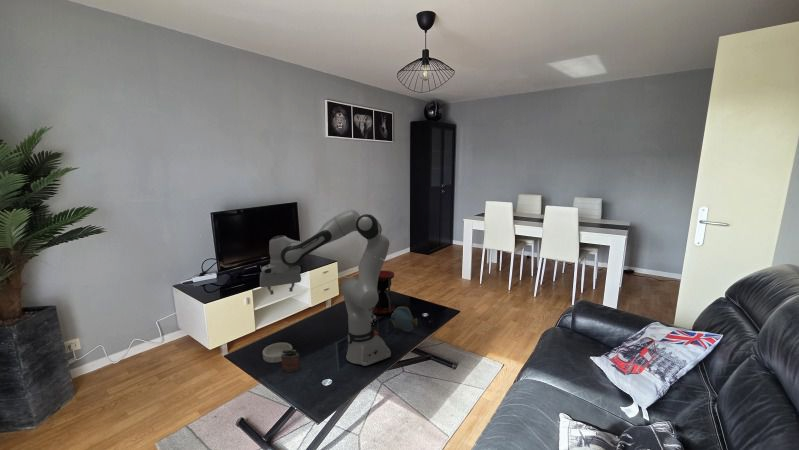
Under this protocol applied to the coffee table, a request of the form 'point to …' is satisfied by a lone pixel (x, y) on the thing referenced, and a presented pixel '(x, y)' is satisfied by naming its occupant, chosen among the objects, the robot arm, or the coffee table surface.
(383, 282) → the hourglass
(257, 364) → the coffee table surface
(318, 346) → the coffee table surface
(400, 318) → the decorative fish sculpture
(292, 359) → the lighter
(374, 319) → the house of cards
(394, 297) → the coffee table surface
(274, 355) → the ring dish
